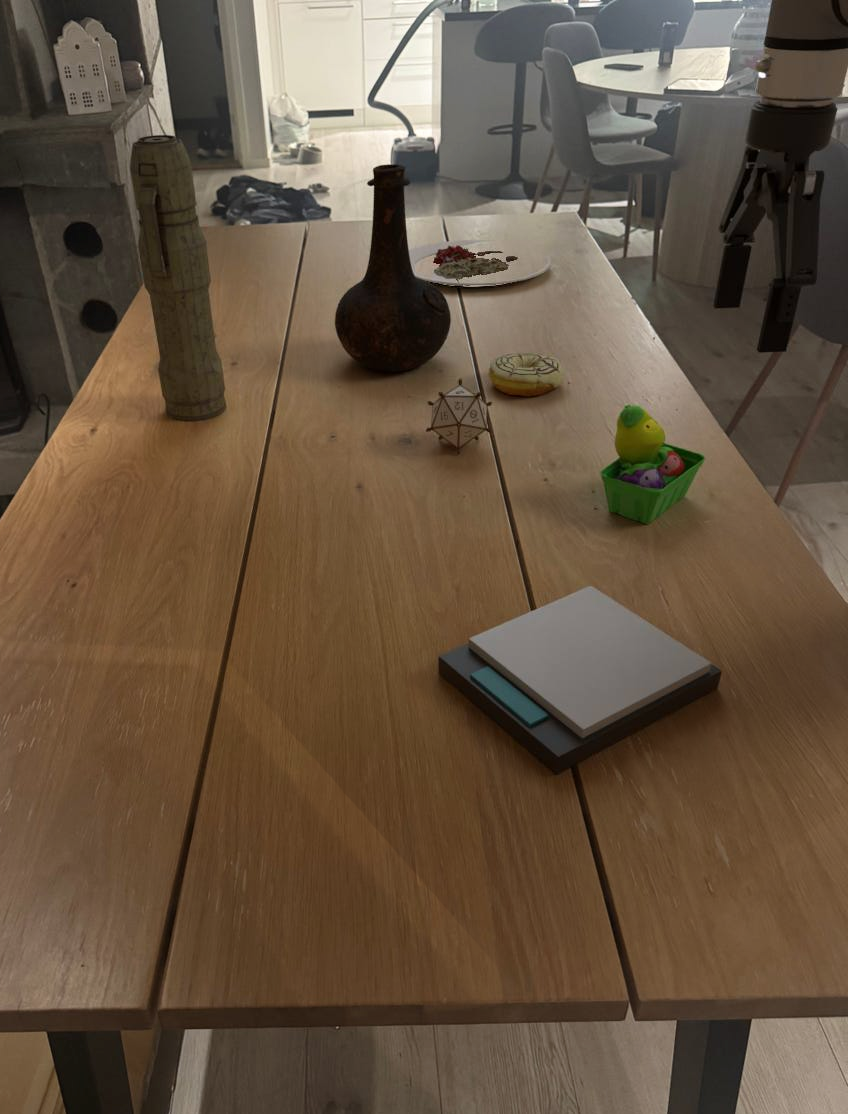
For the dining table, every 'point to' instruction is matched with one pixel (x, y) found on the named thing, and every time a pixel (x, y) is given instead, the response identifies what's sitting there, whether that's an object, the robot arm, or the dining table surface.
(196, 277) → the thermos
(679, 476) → the fruit basket
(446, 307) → the glass bottle
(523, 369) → the decorated donut
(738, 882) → the dining table surface
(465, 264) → the plated food
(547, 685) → the kitchen scale
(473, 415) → the game die
